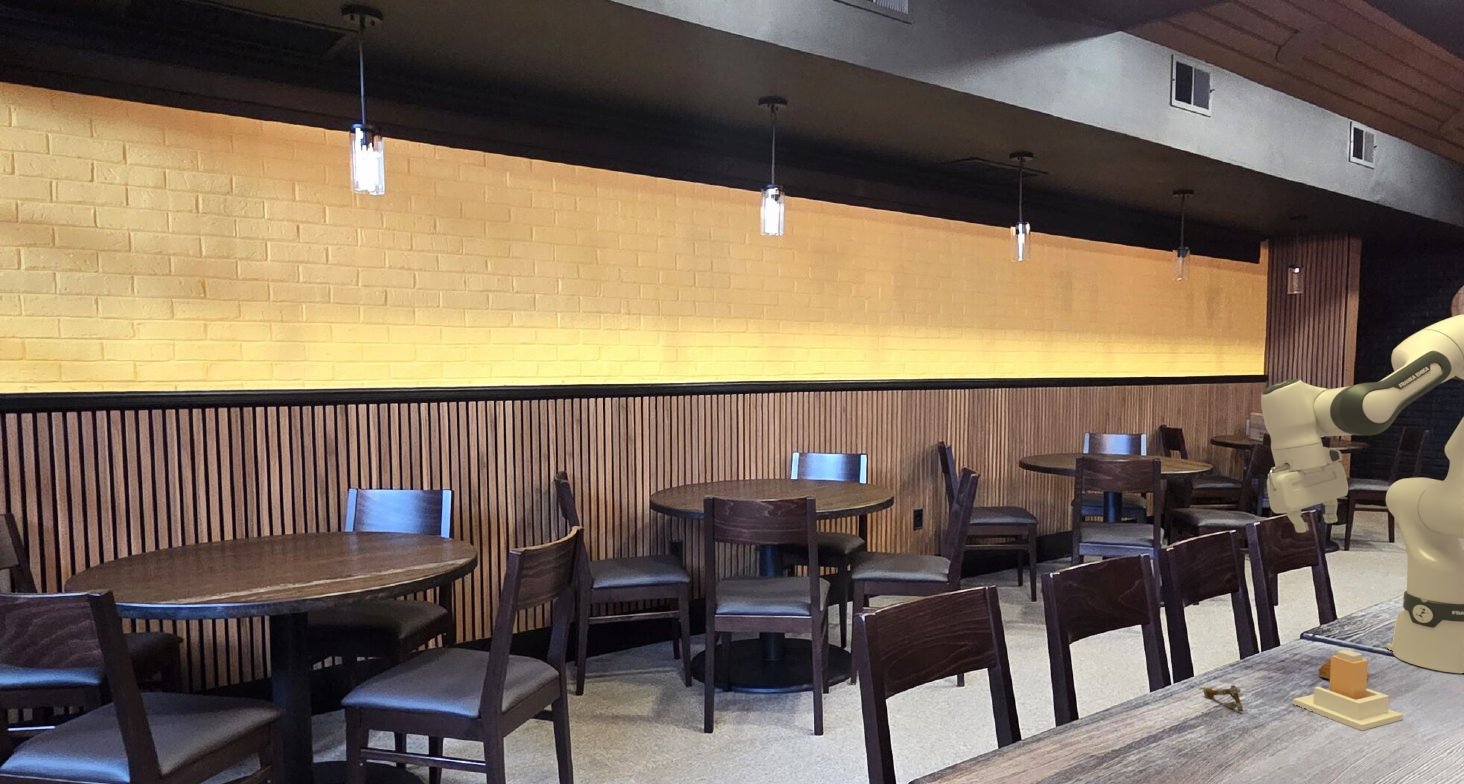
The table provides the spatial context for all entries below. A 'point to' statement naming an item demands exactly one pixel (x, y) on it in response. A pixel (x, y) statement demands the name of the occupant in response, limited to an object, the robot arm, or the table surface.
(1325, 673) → the pastry
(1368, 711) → the holder
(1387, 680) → the table surface
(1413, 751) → the table surface
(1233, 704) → the wooden post with brackets
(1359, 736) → the table surface
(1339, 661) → the block
